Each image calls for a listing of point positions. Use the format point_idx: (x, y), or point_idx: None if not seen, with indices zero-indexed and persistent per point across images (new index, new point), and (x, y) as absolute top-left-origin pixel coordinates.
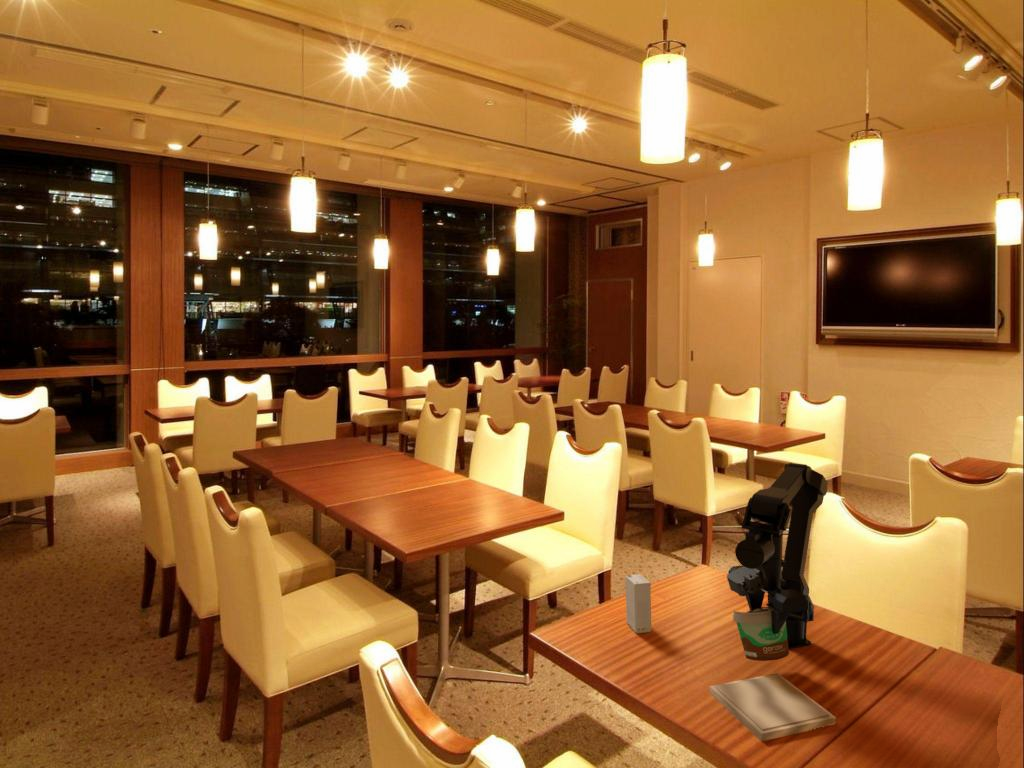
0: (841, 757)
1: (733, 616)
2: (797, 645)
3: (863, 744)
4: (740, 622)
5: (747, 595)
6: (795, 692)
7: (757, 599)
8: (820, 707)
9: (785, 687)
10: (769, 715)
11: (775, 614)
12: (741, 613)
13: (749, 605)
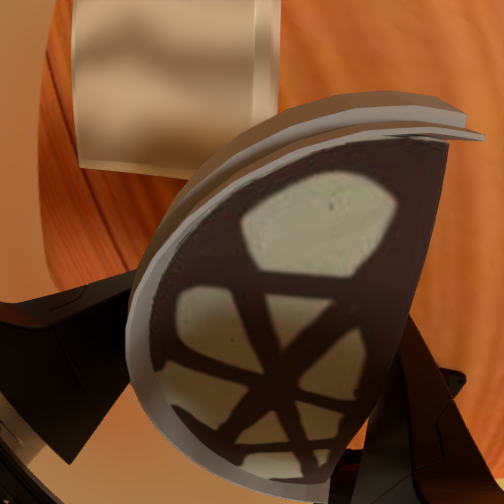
0: (41, 104)
1: (453, 109)
2: None
3: (56, 164)
4: (331, 97)
5: (441, 488)
6: (153, 151)
7: (372, 477)
8: (105, 164)
9: (180, 143)
10: (101, 20)
11: (30, 304)
12: (332, 137)
13: (433, 389)
